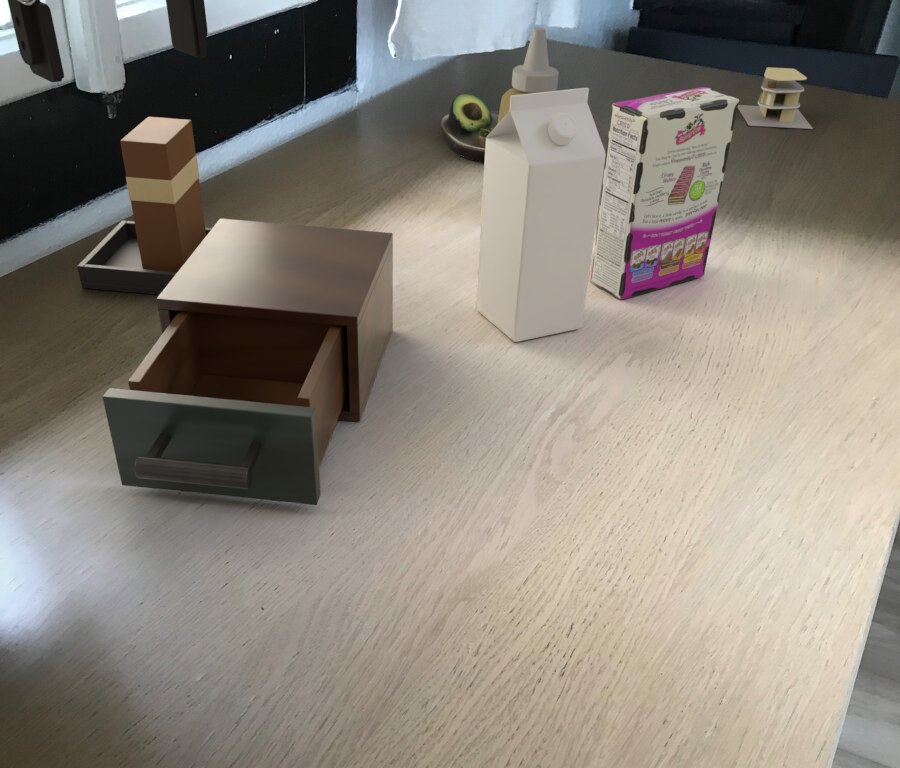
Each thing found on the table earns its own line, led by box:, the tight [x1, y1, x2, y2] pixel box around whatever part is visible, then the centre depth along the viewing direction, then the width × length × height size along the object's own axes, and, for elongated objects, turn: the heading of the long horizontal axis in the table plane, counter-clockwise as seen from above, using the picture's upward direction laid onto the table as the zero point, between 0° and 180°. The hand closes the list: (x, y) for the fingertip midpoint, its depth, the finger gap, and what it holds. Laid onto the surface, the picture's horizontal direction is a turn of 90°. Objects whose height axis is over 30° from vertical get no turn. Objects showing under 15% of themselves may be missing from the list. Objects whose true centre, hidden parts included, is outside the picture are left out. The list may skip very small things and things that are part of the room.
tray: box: [76, 220, 213, 296], centre depth 93 cm, size 14×11×2 cm
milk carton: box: [475, 87, 607, 343], centre depth 83 cm, size 7×7×19 cm
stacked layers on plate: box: [737, 66, 814, 130], centre depth 138 cm, size 10×9×6 cm
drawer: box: [102, 311, 349, 506], centre depth 67 cm, size 19×13×7 cm
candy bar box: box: [590, 86, 740, 300], centre depth 91 cm, size 11×5×16 cm, turn 123°
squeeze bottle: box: [498, 27, 560, 123], centre depth 102 cm, size 8×8×18 cm
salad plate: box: [440, 93, 500, 163], centre depth 125 cm, size 19×18×5 cm
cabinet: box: [156, 218, 394, 423], centre depth 78 cm, size 16×15×9 cm
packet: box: [119, 116, 206, 272], centre depth 90 cm, size 4×7×12 cm, turn 173°
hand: (121, 64), depth 61 cm, fingers open, 9 cm apart
